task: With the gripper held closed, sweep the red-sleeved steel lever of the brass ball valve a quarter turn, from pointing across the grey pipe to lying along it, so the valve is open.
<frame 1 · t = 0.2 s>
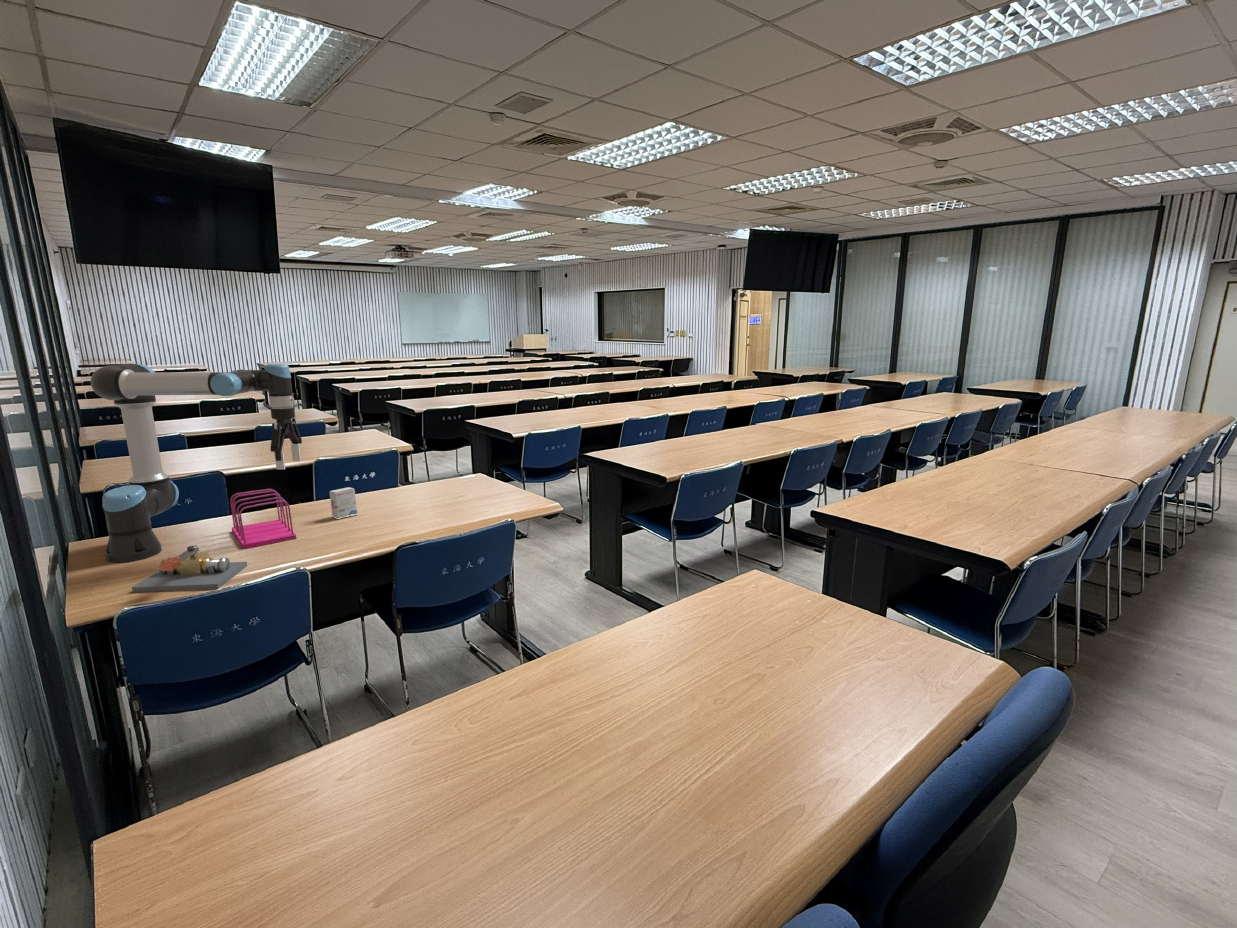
hand: (289, 465, 221), 28 cm above the table, tool pointing down, fingers open, 13 cm apart
file sorter: (263, 536, 230), on the table
mounting board: (193, 578, 190), on the table
valve lever: (181, 558, 184), point 8 cm above the table, hinge at -90.0°
valve pipe: (196, 575, 192), resting on mounting board
ink box: (344, 517, 253), on the table
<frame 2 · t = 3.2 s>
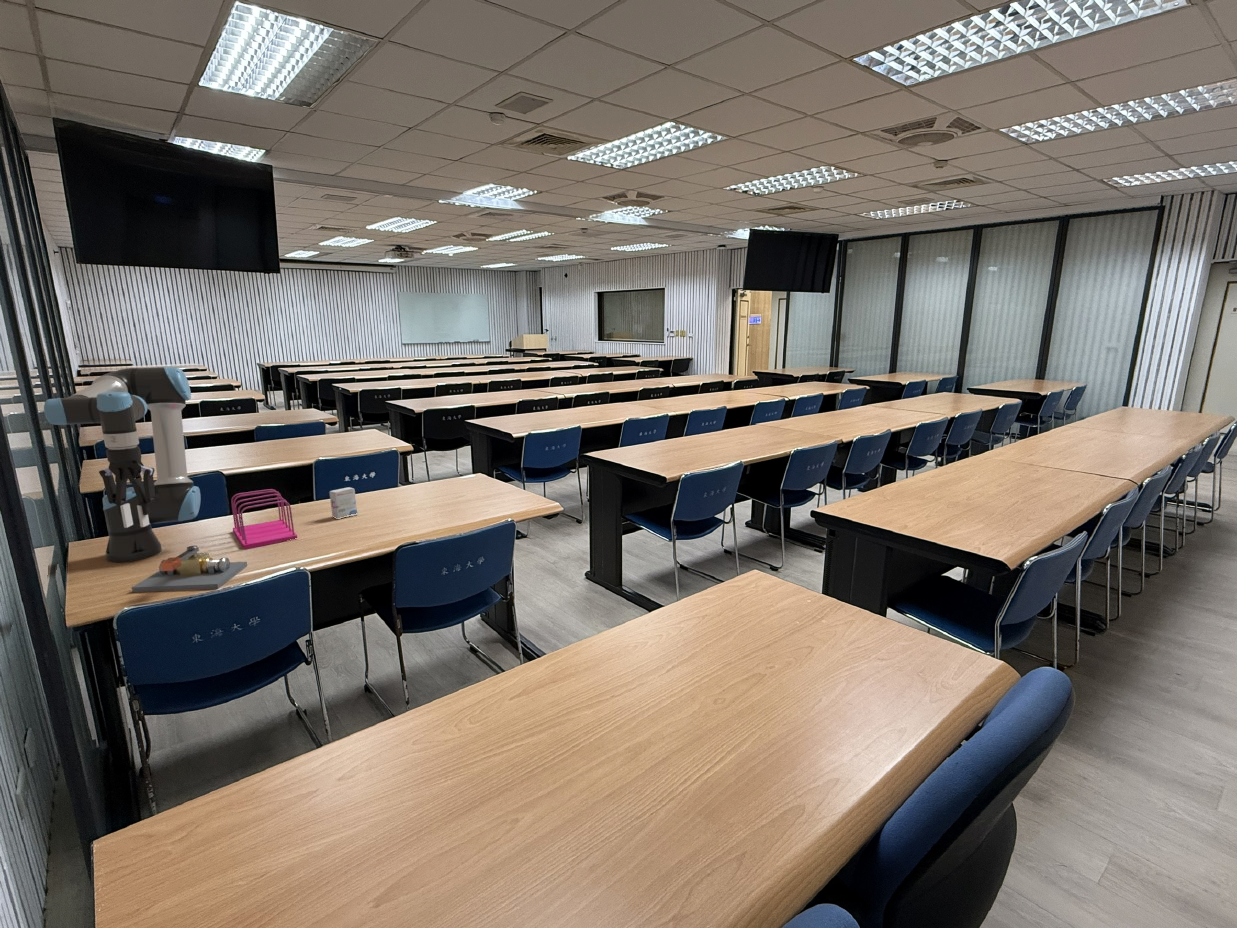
hand: (137, 525, 176), 21 cm above the table, tool pointing down, fingers open, 4 cm apart
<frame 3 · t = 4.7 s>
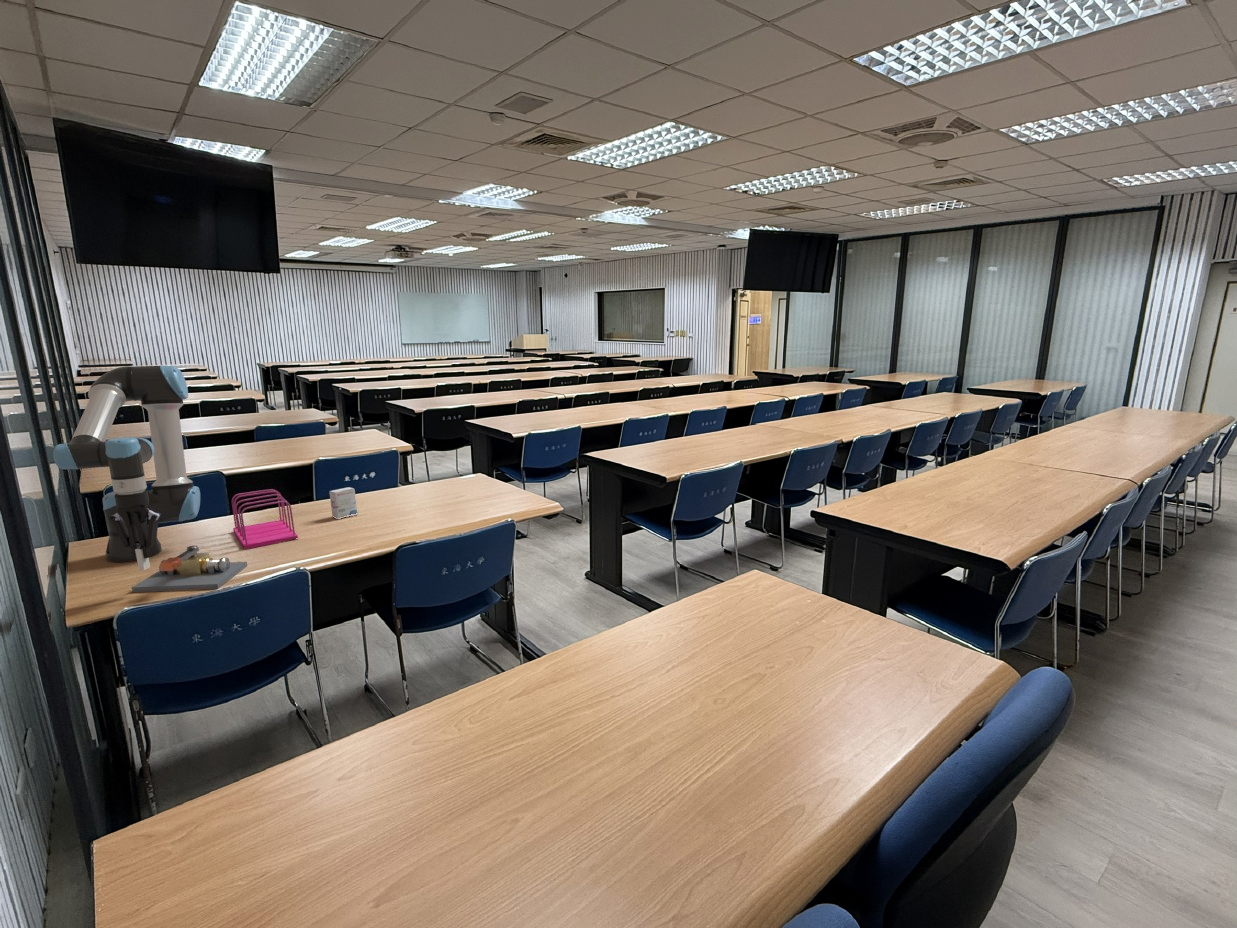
hand: (144, 568, 178), 7 cm above the table, tool pointing down, fingers closed
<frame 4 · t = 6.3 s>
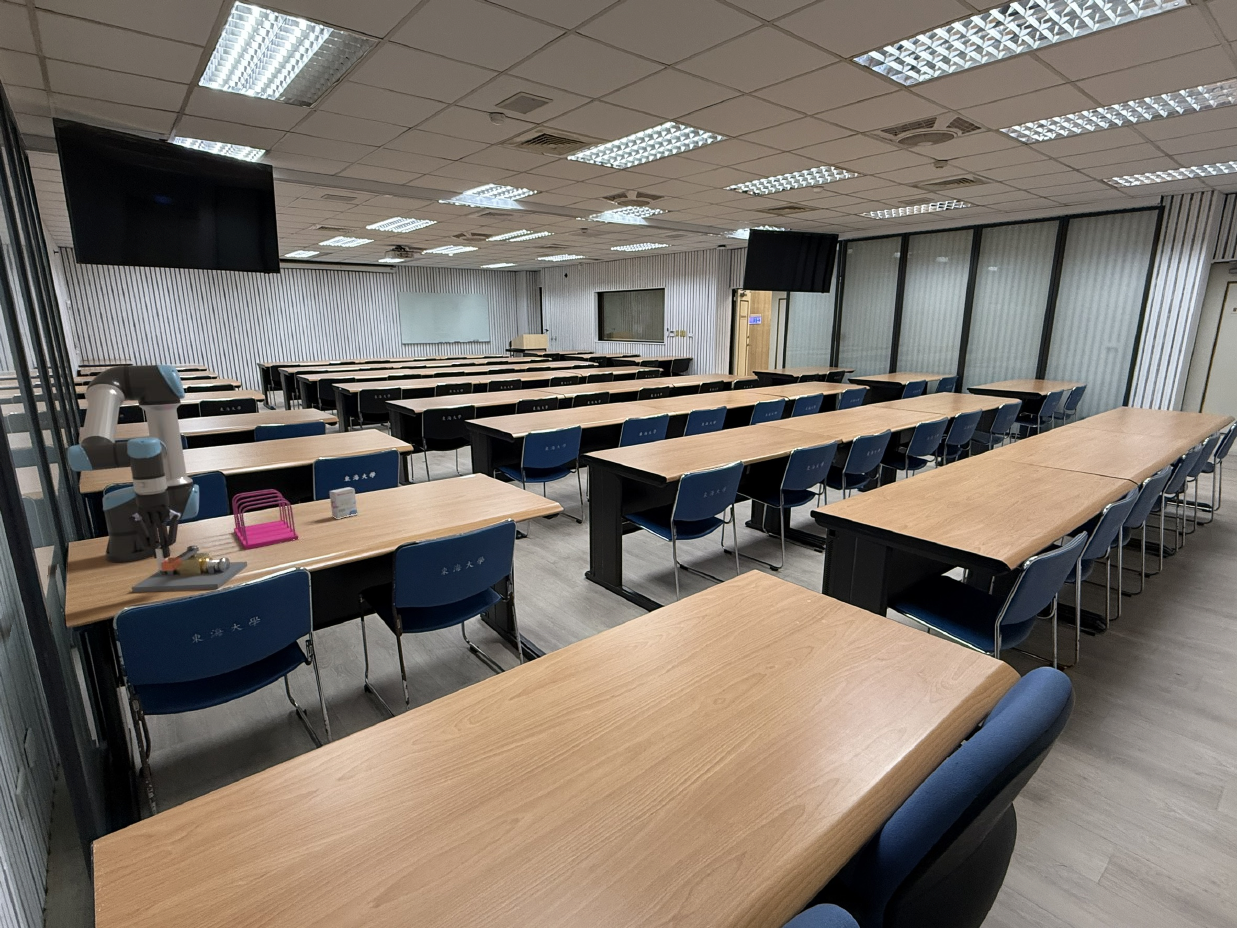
hand: (164, 568, 179), 7 cm above the table, tool pointing down, fingers closed
valve lever: (181, 558, 184), point 8 cm above the table, hinge at -89.3°, touching gripper
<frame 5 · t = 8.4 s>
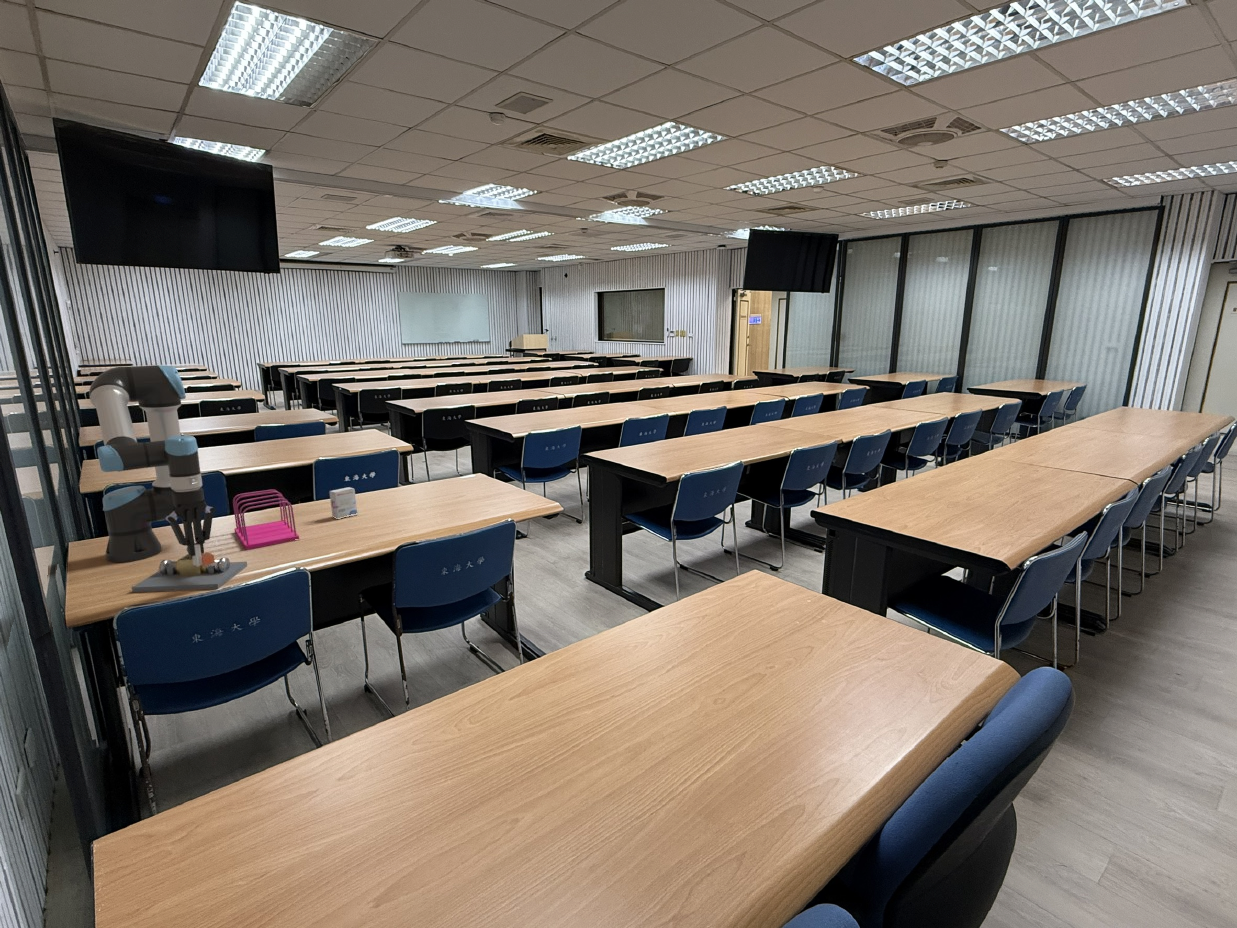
hand: (198, 564, 182), 7 cm above the table, tool pointing down, fingers closed
valve lever: (199, 555, 186), point 8 cm above the table, hinge at -43.7°, touching gripper
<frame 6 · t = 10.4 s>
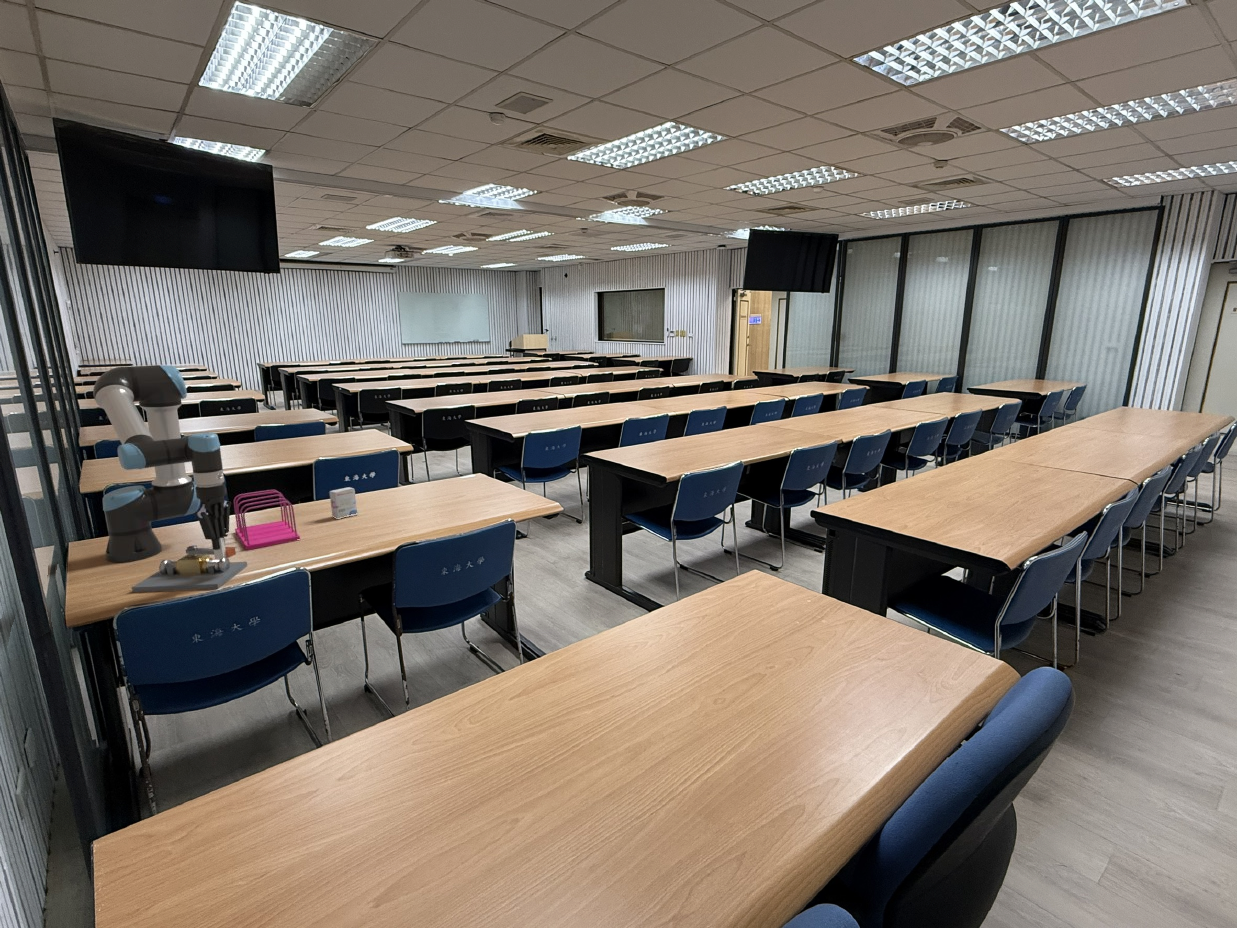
hand: (220, 558, 187), 7 cm above the table, tool pointing down, fingers closed
valve lever: (210, 551, 189), point 8 cm above the table, hinge at -11.6°, touching gripper
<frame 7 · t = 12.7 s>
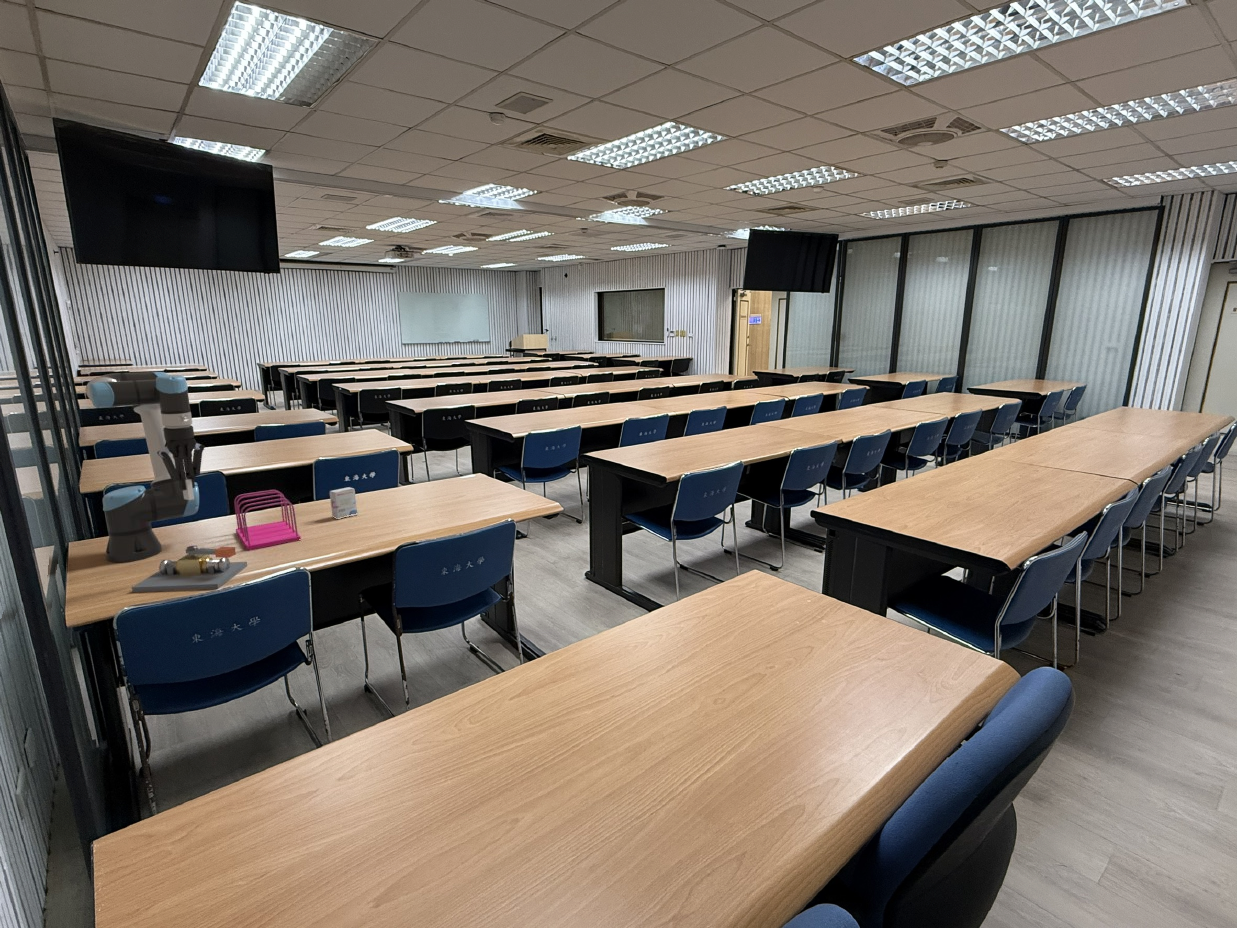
hand: (189, 498, 192), 24 cm above the table, tool pointing down, fingers closed
valve lever: (210, 551, 189), point 8 cm above the table, hinge at -11.6°
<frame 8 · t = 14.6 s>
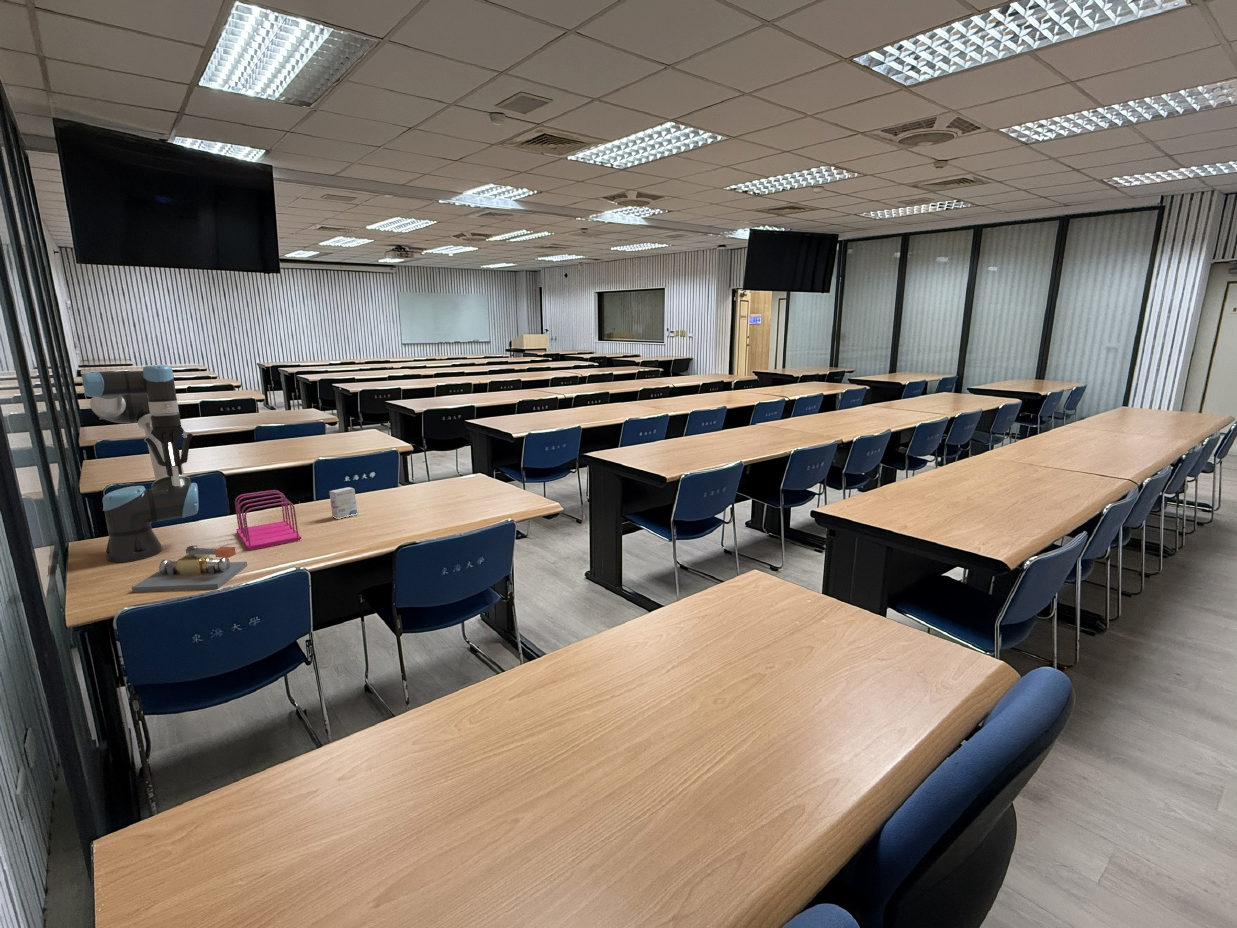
hand: (176, 485, 198), 26 cm above the table, tool pointing down, fingers closed
at the end: valve lever at -12° (first picture: -90°); ink box moved 0.2 cm from its start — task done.
